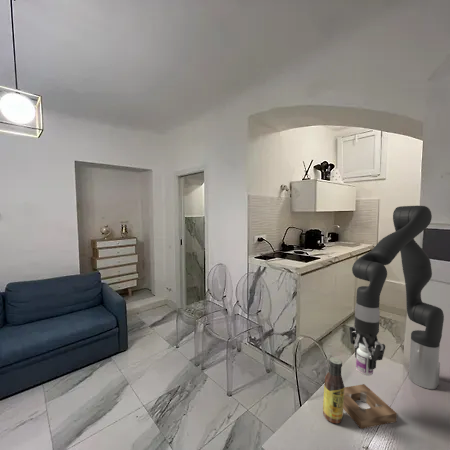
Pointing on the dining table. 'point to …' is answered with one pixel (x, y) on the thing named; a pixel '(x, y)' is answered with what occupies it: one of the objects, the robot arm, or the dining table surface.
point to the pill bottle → (363, 360)
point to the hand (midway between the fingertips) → (364, 363)
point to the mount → (370, 416)
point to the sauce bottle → (333, 392)
